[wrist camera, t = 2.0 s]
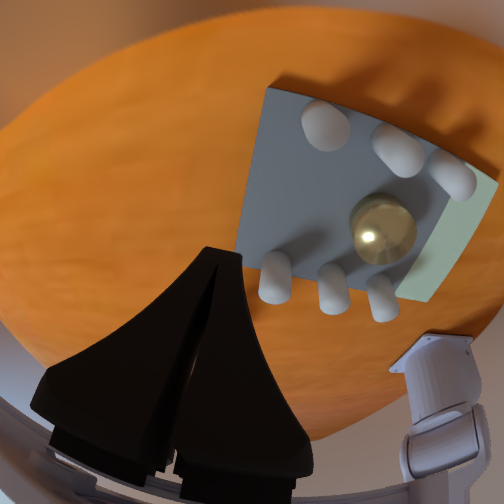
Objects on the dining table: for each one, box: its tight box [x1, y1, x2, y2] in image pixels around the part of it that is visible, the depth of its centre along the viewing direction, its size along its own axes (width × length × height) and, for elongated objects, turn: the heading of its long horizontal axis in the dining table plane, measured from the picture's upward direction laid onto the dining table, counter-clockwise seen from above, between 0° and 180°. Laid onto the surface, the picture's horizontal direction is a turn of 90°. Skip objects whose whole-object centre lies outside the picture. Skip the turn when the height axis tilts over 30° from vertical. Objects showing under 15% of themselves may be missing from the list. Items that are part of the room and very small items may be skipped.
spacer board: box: [234, 87, 499, 322], centre depth 15 cm, size 17×12×4 cm
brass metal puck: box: [349, 192, 417, 265], centre depth 15 cm, size 4×4×2 cm
